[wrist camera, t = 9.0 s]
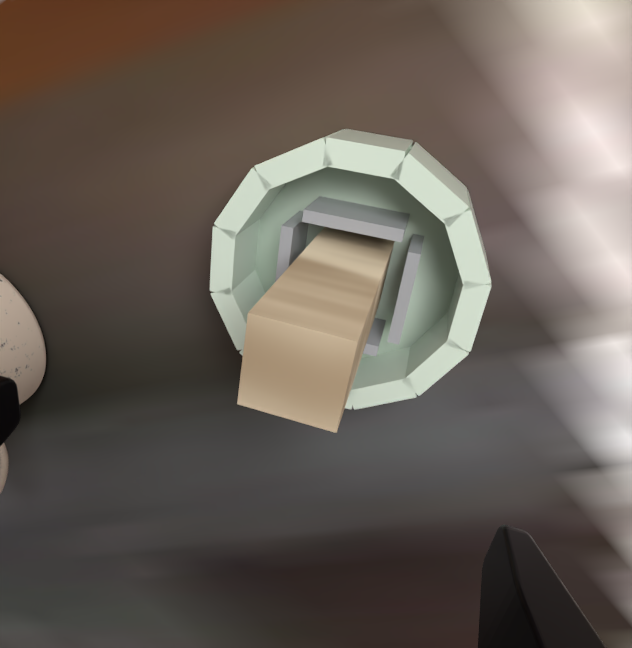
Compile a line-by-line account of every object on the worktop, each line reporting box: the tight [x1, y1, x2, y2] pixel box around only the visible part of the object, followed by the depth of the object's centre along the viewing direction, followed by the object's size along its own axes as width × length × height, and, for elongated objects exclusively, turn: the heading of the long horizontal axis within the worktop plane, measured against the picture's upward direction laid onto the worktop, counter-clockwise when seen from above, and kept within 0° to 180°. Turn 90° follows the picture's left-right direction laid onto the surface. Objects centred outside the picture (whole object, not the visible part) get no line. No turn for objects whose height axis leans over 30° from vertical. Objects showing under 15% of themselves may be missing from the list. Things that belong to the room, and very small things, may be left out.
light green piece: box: [210, 129, 491, 410], centre depth 18 cm, size 9×9×3 cm
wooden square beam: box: [237, 227, 395, 433], centre depth 15 cm, size 2×2×8 cm
